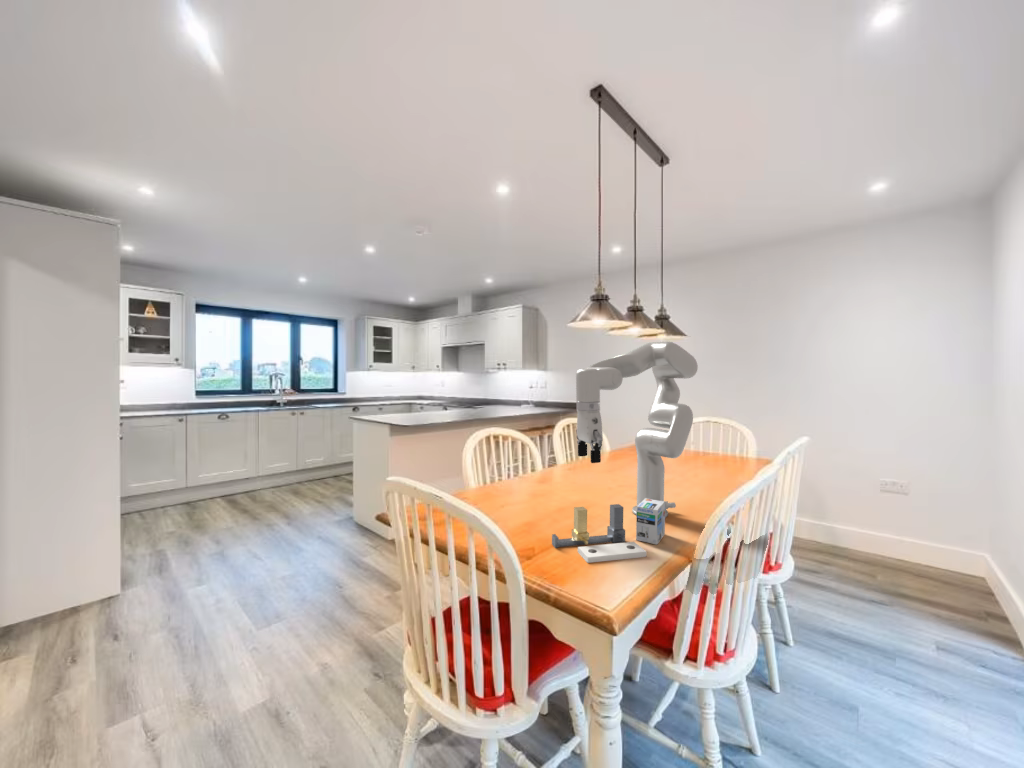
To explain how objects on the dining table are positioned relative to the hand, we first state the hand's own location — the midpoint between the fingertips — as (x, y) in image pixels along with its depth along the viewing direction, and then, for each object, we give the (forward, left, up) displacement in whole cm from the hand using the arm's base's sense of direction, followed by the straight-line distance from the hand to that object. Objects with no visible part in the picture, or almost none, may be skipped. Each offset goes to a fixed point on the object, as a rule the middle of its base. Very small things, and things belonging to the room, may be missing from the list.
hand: (588, 459), depth 138 cm
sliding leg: (+6, +10, -22) cm, 25 cm away
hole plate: (0, +17, -24) cm, 29 cm away
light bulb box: (-18, +8, -24) cm, 31 cm away
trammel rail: (+3, +10, -24) cm, 26 cm away
